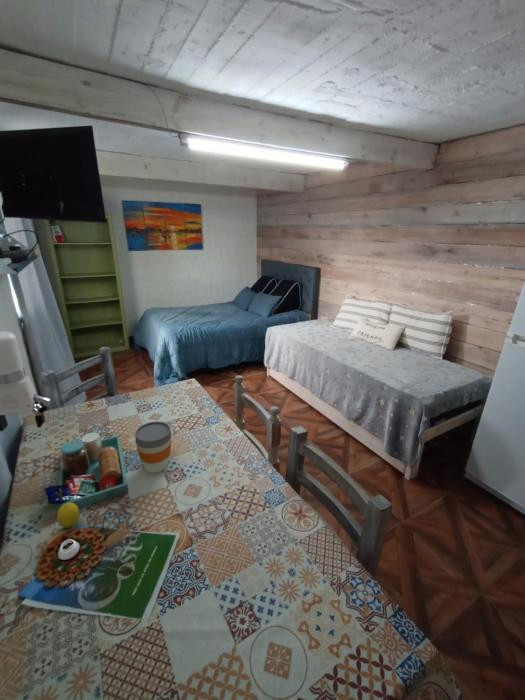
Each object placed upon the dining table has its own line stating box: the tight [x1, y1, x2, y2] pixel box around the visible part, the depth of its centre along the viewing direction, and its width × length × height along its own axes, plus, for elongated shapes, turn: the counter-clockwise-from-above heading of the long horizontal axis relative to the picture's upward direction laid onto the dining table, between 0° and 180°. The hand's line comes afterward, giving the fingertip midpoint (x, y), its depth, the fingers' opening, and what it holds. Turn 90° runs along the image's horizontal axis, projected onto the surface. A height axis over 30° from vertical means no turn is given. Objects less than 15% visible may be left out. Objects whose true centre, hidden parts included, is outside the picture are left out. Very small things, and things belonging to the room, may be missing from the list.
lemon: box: [56, 502, 81, 528], centre depth 93 cm, size 6×6×8 cm
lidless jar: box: [57, 538, 81, 561], centre depth 86 cm, size 5×3×5 cm
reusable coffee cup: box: [134, 421, 173, 474], centre depth 117 cm, size 13×13×15 cm
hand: (22, 426), depth 95 cm, fingers open, 9 cm apart
